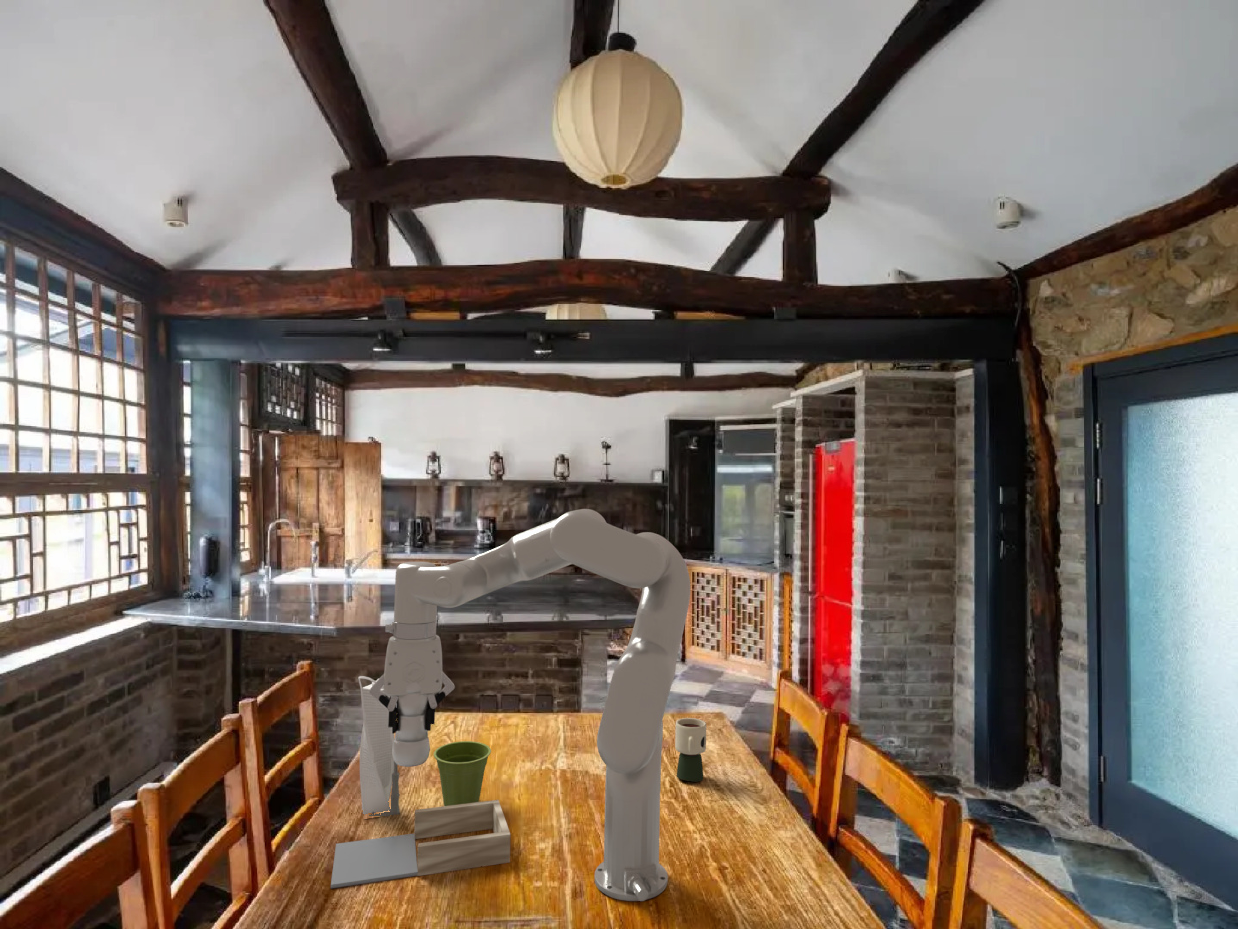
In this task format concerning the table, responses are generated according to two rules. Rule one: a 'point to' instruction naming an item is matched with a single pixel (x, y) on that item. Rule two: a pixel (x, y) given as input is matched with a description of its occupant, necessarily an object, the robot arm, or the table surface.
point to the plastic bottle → (411, 728)
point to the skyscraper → (377, 757)
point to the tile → (374, 860)
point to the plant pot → (461, 771)
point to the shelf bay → (462, 849)
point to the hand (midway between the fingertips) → (411, 728)
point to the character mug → (690, 748)
